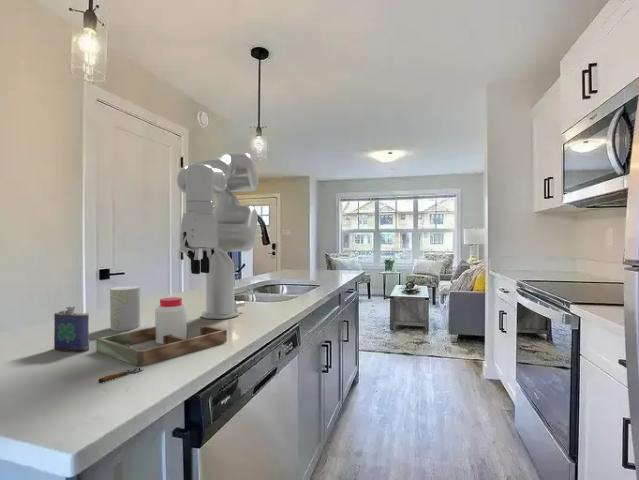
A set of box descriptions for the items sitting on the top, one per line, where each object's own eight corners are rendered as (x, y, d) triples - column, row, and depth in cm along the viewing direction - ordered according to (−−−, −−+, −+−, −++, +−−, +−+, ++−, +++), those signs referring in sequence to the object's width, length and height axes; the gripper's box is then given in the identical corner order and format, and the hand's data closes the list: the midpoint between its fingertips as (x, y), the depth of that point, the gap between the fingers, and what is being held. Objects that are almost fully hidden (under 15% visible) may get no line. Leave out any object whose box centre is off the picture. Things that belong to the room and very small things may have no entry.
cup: (104, 328, 119) (104, 288, 119) (128, 323, 126) (128, 285, 126) (122, 331, 115) (121, 290, 115) (146, 326, 122) (145, 287, 122)
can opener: (100, 385, 75) (100, 379, 75) (95, 382, 77) (95, 376, 77) (146, 371, 82) (146, 366, 82) (140, 370, 84) (140, 364, 84)
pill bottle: (156, 338, 108) (155, 297, 108) (186, 335, 111) (185, 296, 111) (155, 345, 101) (154, 302, 101) (187, 342, 104) (186, 300, 103)
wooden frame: (182, 331, 115) (182, 320, 115) (226, 341, 104) (226, 330, 104) (96, 351, 96) (96, 338, 96) (139, 366, 85) (138, 352, 85)
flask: (91, 349, 98) (90, 305, 97) (82, 352, 95) (81, 308, 95) (60, 347, 100) (59, 304, 99) (49, 350, 97) (49, 306, 97)
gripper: (214, 210, 122) (214, 270, 122) (166, 207, 109) (167, 275, 109) (230, 209, 117) (231, 271, 118) (183, 206, 104) (183, 276, 105)
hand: (200, 272), depth 113 cm, fingers open, 2 cm apart
